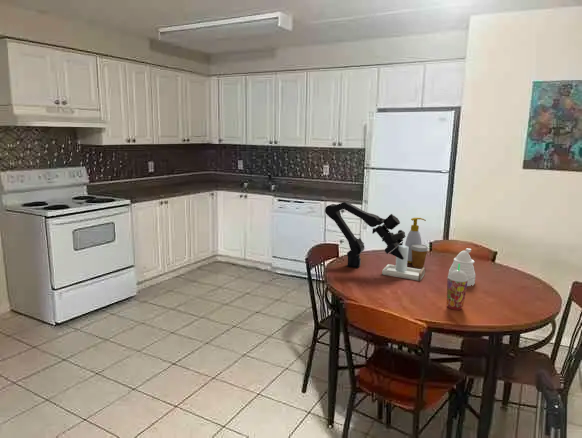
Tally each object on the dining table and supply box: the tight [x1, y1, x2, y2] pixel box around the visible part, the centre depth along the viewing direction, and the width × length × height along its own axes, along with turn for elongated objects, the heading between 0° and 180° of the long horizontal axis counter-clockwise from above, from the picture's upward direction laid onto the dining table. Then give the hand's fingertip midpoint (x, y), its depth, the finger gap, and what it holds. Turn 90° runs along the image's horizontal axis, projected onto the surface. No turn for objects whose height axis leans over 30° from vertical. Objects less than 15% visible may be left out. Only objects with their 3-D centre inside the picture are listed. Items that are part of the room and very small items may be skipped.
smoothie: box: [446, 264, 468, 311], centre depth 184 cm, size 8×8×20 cm
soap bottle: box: [404, 217, 426, 264], centre depth 251 cm, size 11×12×26 cm
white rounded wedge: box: [395, 244, 409, 272], centre depth 228 cm, size 6×6×13 cm
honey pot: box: [448, 247, 476, 287], centre depth 218 cm, size 13×13×18 cm
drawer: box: [381, 263, 426, 282], centre depth 229 cm, size 20×12×4 cm, turn 63°
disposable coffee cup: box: [411, 243, 429, 269], centre depth 243 cm, size 10×10×12 cm
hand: (404, 257), depth 227 cm, fingers closed on white rounded wedge, 6 cm apart
